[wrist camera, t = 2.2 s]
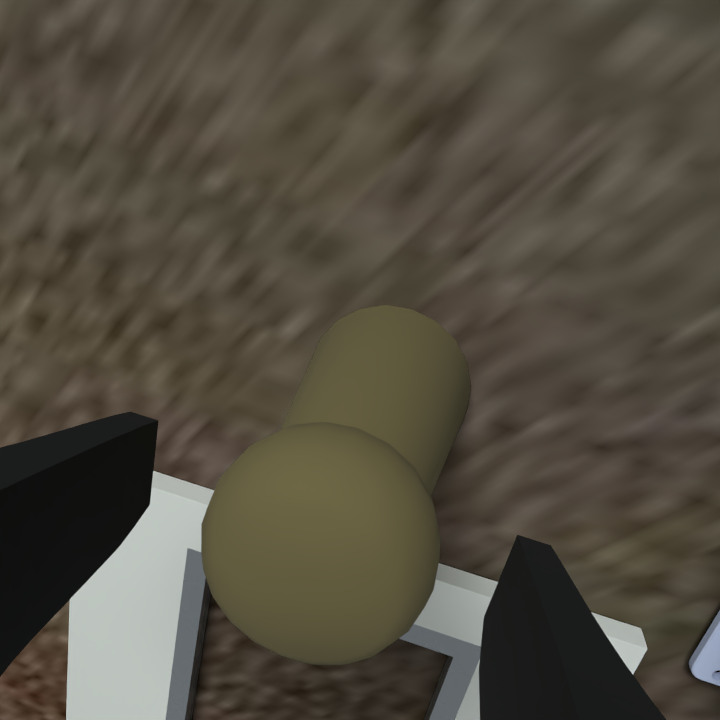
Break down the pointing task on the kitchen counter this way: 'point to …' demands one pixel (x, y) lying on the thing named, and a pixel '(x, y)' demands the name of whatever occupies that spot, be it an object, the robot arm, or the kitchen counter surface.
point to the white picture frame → (190, 611)
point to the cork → (342, 494)
